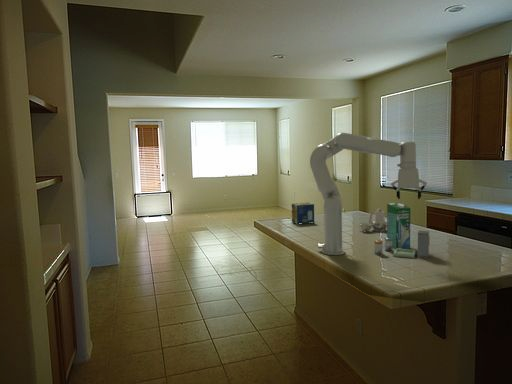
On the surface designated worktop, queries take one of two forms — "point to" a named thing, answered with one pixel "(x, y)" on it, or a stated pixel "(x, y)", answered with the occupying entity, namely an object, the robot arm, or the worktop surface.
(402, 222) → the milk carton
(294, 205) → the protein box
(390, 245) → the clear glass jar
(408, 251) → the tray
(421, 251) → the block
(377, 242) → the copper lidded jar
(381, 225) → the chinaware
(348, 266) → the worktop surface
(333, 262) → the worktop surface
